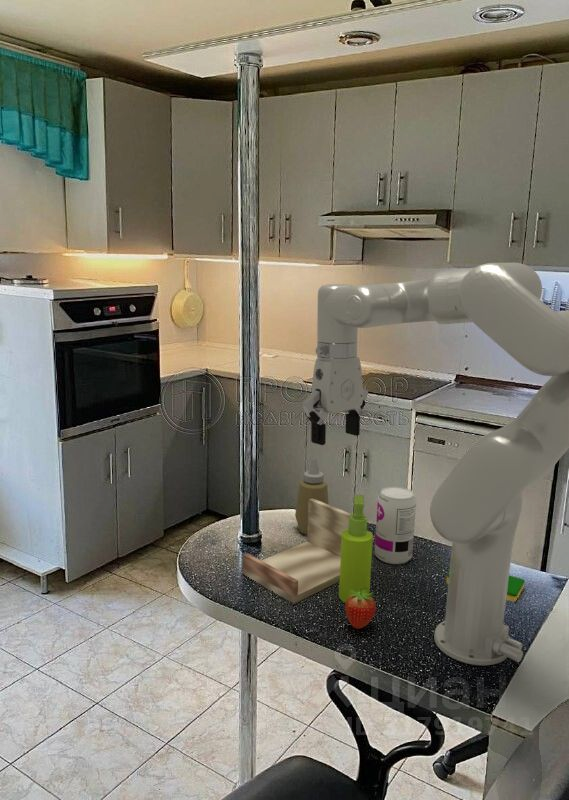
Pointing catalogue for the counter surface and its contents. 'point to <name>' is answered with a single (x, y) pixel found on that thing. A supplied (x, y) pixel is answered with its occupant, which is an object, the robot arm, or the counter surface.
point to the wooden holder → (304, 557)
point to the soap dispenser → (355, 553)
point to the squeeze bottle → (310, 494)
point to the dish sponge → (509, 587)
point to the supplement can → (395, 525)
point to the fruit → (360, 608)
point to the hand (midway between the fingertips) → (335, 438)
